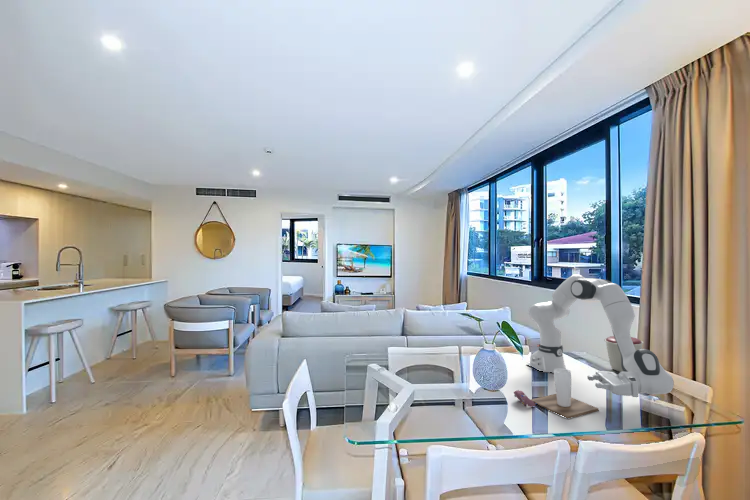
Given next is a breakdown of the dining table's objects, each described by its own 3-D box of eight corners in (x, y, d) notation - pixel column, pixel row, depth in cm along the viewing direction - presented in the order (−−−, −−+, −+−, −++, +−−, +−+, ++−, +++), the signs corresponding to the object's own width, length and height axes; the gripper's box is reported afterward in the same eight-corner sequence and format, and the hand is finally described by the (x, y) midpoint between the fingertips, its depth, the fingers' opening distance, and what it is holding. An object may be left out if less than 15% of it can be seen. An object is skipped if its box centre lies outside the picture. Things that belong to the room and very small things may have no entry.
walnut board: (530, 401, 166) (529, 399, 166) (559, 394, 172) (559, 392, 172) (566, 419, 147) (566, 416, 147) (598, 410, 154) (598, 408, 154)
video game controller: (517, 403, 169) (510, 390, 169) (525, 397, 170) (518, 385, 170) (528, 411, 159) (520, 398, 159) (537, 406, 160) (529, 392, 160)
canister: (598, 368, 207) (596, 331, 208) (619, 363, 214) (617, 328, 215) (631, 377, 191) (629, 337, 191) (653, 372, 198) (650, 333, 198)
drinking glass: (575, 408, 155) (573, 373, 155) (558, 408, 156) (556, 373, 156) (569, 402, 161) (567, 368, 162) (553, 401, 162) (551, 368, 163)
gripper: (616, 367, 165) (583, 367, 168) (638, 383, 145) (600, 382, 148) (617, 381, 165) (584, 380, 168) (639, 399, 145) (601, 397, 148)
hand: (591, 381), depth 158 cm, fingers open, 8 cm apart
